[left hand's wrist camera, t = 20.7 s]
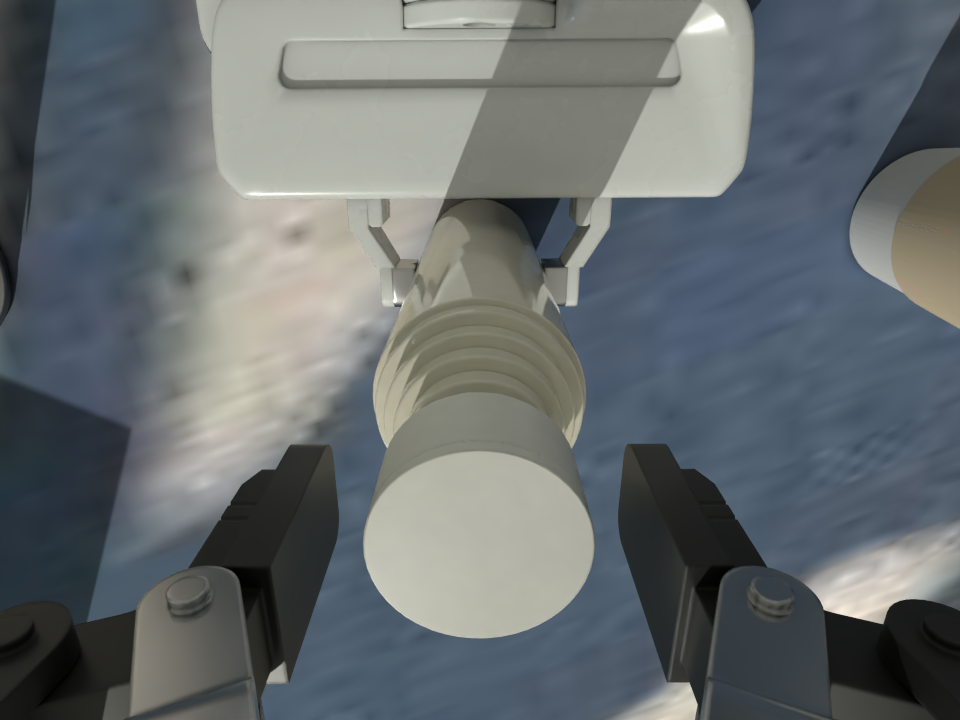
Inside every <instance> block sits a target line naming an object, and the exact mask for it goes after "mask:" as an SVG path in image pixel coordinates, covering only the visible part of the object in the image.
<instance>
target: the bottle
mask: <svg viewBox="0 0 960 720" xmlns="http://www.w3.org/2000/svg"><path fill="white" fill-rule="evenodd" d="M467 392H486V393H498V394H503V395H505V396H509V397H513V398H515V399H518V400H521V401H523V402H526V403H529V404H530V405H532V406H534V407H535V408H537V409H538V410H540V411H541V412H542V413H544V414H545V415H547V416H548V417H549V418H550V419H551V420H552V421H553V422H554V423H555V424H556V425H557V426H558V428H559V429H560V430H561V431H562V432H563V434H564V436H565V437H566V439H567V441H568V442H569V444H570V447H571V449H572V447H573V445H574V443H575V441H576V439H577V437H578V434H579V431H580V428H581V424H582V419H583V415H584V410H585V405H586V385H585V377H584V373H583V369H582V366H581V363H580V361H579V358H578V356H577V353H576V351H575V348H574V346H573V343H572V341H571V338H570V336H569V333H568V331H567V328H566V326H565V323H564V321H563V318H562V316H561V313H560V311H559V308H558V306H557V303H556V301H555V298H554V296H553V293H552V291H551V288H550V286H549V283H548V281H547V278H546V276H545V273H544V271H543V268H542V266H541V263H540V261H539V258H538V256H537V253H536V251H535V248H534V246H533V243H532V241H531V238H530V236H529V233H528V231H527V228H526V226H525V225H524V223H523V221H522V220H521V219H520V217H519V216H518V215H517V214H516V213H515V212H514V211H512V210H511V209H510V208H508V207H507V206H505V205H503V204H501V203H498V202H496V201H492V200H486V199H474V200H468V201H465V202H461V203H459V204H457V205H455V206H453V207H452V208H450V209H449V210H448V211H446V212H445V213H444V214H443V215H442V216H441V217H440V218H439V220H438V221H437V223H436V224H435V226H434V228H433V230H432V233H431V235H430V237H429V240H428V242H427V245H426V247H425V250H424V252H423V255H422V257H421V260H420V262H419V264H418V267H417V269H416V272H415V274H414V277H413V279H412V282H411V284H410V287H409V289H408V291H407V294H406V296H405V299H404V301H403V304H402V306H401V309H400V311H399V314H398V316H397V318H396V321H395V323H394V326H393V328H392V331H391V333H390V336H389V338H388V341H387V343H386V345H385V348H384V350H383V353H382V355H381V358H380V360H379V363H378V366H377V369H376V373H375V378H374V383H373V403H374V410H375V414H376V420H377V424H378V428H379V431H380V434H381V437H382V439H383V442H384V443H385V445H386V447H387V448H388V446H389V443H390V441H391V440H392V438H393V436H394V435H395V433H396V432H397V431H398V429H399V428H400V427H401V426H402V424H403V423H404V422H405V421H406V420H408V419H409V418H410V417H411V416H412V415H413V414H415V413H416V412H417V411H419V410H420V409H422V408H423V407H425V406H427V405H429V404H430V403H432V402H435V401H437V400H440V399H443V398H446V397H449V396H453V395H457V394H461V393H467Z"/></svg>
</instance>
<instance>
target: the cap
mask: <svg viewBox="0 0 960 720" xmlns="http://www.w3.org/2000/svg"><path fill="white" fill-rule="evenodd" d="M363 548H364V557H365V561H366V565H367V569H368V571H369V573H370V576H371V578H372V580H373V582H374V584H375V585H376V587H377V589H378V590H379V592H380V593H381V594H382V595H383V597H384V598H385V599H386V600H387V601H388V602H389V603H390V604H391V605H392V606H393V607H394V608H395V609H396V610H397V611H399V612H400V613H401V614H403V615H404V616H405V617H407V618H409V619H410V620H412V621H414V622H416V623H417V624H419V625H421V626H424V627H426V628H428V629H431V630H434V631H437V632H440V633H443V634H448V635H453V636H457V637H467V638H492V637H501V636H506V635H511V634H515V633H518V632H521V631H525V630H528V629H530V628H532V627H535V626H537V625H539V624H541V623H543V622H545V621H546V620H548V619H550V618H551V617H553V616H554V615H556V614H557V613H558V612H560V611H561V610H562V609H563V608H564V607H565V606H566V605H568V604H569V603H570V602H571V601H572V599H573V598H574V597H575V596H576V595H577V593H578V592H579V591H580V589H581V587H582V586H583V584H584V582H585V581H586V579H587V576H588V574H589V572H590V569H591V566H592V562H593V558H594V550H595V537H594V529H593V525H592V520H591V517H590V513H589V510H588V506H587V502H586V498H585V495H584V491H583V487H582V484H581V480H580V476H579V473H578V469H577V465H576V462H575V458H574V454H573V452H572V449H571V447H570V444H569V442H568V441H567V439H566V437H565V436H564V434H563V432H562V431H561V430H560V429H559V428H558V426H557V425H556V424H555V423H554V422H553V421H552V420H551V419H550V418H549V417H548V416H547V415H545V414H544V413H542V412H541V411H540V410H538V409H537V408H535V407H534V406H532V405H530V404H529V403H526V402H523V401H521V400H518V399H515V398H513V397H509V396H505V395H503V394H498V393H486V392H467V393H461V394H457V395H453V396H449V397H446V398H443V399H440V400H437V401H435V402H432V403H430V404H429V405H427V406H425V407H423V408H422V409H420V410H419V411H417V412H416V413H415V414H413V415H412V416H411V417H410V418H409V419H408V420H406V421H405V422H404V423H403V424H402V426H401V427H400V428H399V429H398V431H397V432H396V433H395V435H394V436H393V438H392V440H391V441H390V443H389V446H388V448H387V450H386V453H385V456H384V460H383V463H382V467H381V470H380V474H379V478H378V481H377V485H376V488H375V492H374V495H373V499H372V503H371V506H370V510H369V513H368V517H367V521H366V525H365V529H364V538H363Z"/></svg>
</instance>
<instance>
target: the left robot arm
mask: <svg viewBox="0 0 960 720" xmlns="http://www.w3.org/2000/svg"><path fill="white" fill-rule="evenodd" d="M10 298H11V283H10V276H9V272H8V268H7V265H6V262H5V259H4V256H3V254H2V252H1V250H0V325H1V324H2V322H3V321H4V319H5V317H6V315H7V312H8V309H9V304H10ZM618 525H619V534H620V539H621V543H622V546H623V549H624V552H625V555H626V559H627V562H628V565H629V568H630V571H631V574H632V577H633V580H634V583H635V586H636V589H637V592H638V595H639V598H640V601H641V604H642V607H643V610H644V613H645V616H646V619H647V622H648V625H649V628H650V632H651V635H652V638H653V641H654V644H655V647H656V650H657V653H658V656H659V659H660V662H661V665H662V668H663V671H664V674H665V677H666V680H667V682H690V685H691V687H692V690H693V693H694V696H695V698H696V701H697V704H698V706H697V712H696V717H695V720H960V611H959V610H956V609H954V608H952V607H949V606H946V605H943V604H940V603H936V602H932V601H926V600H917V599H910V600H903V601H899V602H897V603H894V604H893V605H892V606H891V607H890V608H889V610H888V611H887V614H886V617H885V621H884V624H879V623H875V622H870V621H866V620H862V619H857V618H853V617H849V616H844V615H840V614H836V613H832V612H828V611H825V610H823V606H822V604H821V602H820V600H819V599H818V597H817V596H816V595H815V594H814V593H813V592H812V590H811V589H809V588H808V587H807V586H806V585H805V584H803V583H802V582H800V581H799V580H797V579H796V578H794V577H792V576H790V575H788V574H786V573H783V572H781V571H778V570H775V569H772V568H767V566H766V564H765V563H764V561H763V560H762V558H761V557H760V555H759V553H758V552H757V550H756V549H755V547H754V545H753V544H752V542H751V541H750V539H749V538H748V536H747V534H746V533H745V531H744V530H743V528H742V526H741V525H740V523H739V522H738V520H735V515H734V514H733V512H732V511H731V509H730V507H729V506H728V505H726V501H725V500H724V498H723V496H722V495H721V493H720V492H719V490H718V488H717V487H716V485H715V484H714V483H713V482H711V481H710V480H709V479H707V478H706V477H705V476H703V475H702V474H701V473H699V472H698V471H697V470H695V469H680V467H679V465H678V463H677V462H676V460H675V458H674V456H673V454H672V453H671V451H670V449H669V447H668V446H667V445H666V444H627V446H626V448H625V452H624V460H623V470H622V479H621V489H620V499H619V510H618ZM338 526H339V510H338V500H337V490H336V480H335V471H334V461H333V453H332V449H331V447H330V445H290V446H289V448H288V449H287V451H286V453H285V454H284V456H283V458H282V460H281V461H280V463H279V465H278V467H277V468H276V470H261V471H260V472H258V473H257V474H256V475H254V476H253V477H252V478H250V479H249V480H248V481H246V482H245V483H243V484H242V485H241V487H240V488H239V490H238V491H237V493H236V495H235V496H234V498H233V499H232V501H231V505H230V506H228V507H227V509H226V510H225V512H224V513H223V515H222V516H221V521H218V523H217V524H216V526H215V527H214V529H213V531H212V532H211V534H210V535H209V537H208V538H207V540H206V541H205V543H204V545H203V546H202V548H201V549H200V551H199V552H198V554H197V556H196V557H195V559H194V560H193V562H192V563H191V565H190V566H189V568H188V569H185V570H182V571H179V572H177V573H174V574H172V575H170V576H168V577H166V578H164V579H163V580H161V581H160V582H158V583H157V584H155V585H154V586H153V587H152V588H151V589H149V590H148V592H147V593H146V594H145V595H144V596H143V597H142V599H141V600H140V602H139V604H138V606H137V609H136V610H134V611H131V612H128V613H124V614H121V615H117V616H112V617H108V618H104V619H99V620H95V621H91V622H86V623H82V624H78V625H74V623H73V620H72V617H71V614H70V612H69V610H68V609H67V608H66V607H65V606H64V605H61V604H59V603H56V602H49V601H40V602H31V603H26V604H22V605H18V606H15V607H12V608H9V609H6V610H4V611H1V612H0V720H265V717H264V712H263V706H262V701H261V696H262V693H263V690H264V688H265V685H266V684H289V681H290V678H291V675H292V672H293V669H294V666H295V663H296V660H297V658H298V655H299V652H300V649H301V646H302V643H303V640H304V637H305V634H306V631H307V628H308V625H309V622H310V619H311V616H312V613H313V610H314V607H315V604H316V601H317V598H318V595H319V592H320V589H321V586H322V583H323V580H324V577H325V574H326V571H327V568H328V565H329V562H330V559H331V556H332V553H333V550H334V547H335V544H336V540H337V535H338Z"/></svg>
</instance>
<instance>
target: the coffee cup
mask: <svg viewBox="0 0 960 720" xmlns="http://www.w3.org/2000/svg"><path fill="white" fill-rule="evenodd" d="M850 244H851V248H852V252H853V254H854V256H855V258H856V260H857V262H858V263H859V264H860V266H861V267H862V268H863V269H864V270H865V271H867V272H868V273H869V274H871V275H873V276H874V277H876V278H878V279H880V280H881V281H883V282H885V283H887V284H889V285H890V286H892V287H894V288H896V289H897V290H899V291H901V292H903V293H904V294H905V295H906V296H907V297H908V298H909V299H910V300H912V301H913V302H914V303H916V304H917V305H919V306H921V307H923V308H924V309H926V310H928V311H930V312H931V313H933V314H935V315H937V316H938V317H940V318H942V319H944V320H945V321H947V322H949V323H951V324H952V325H954V326H956V327H958V328H959V329H960V148H934V149H925V150H920V151H917V152H914V153H911V154H908V155H906V156H904V157H902V158H900V159H898V160H896V161H894V162H893V163H891V164H890V165H889V166H887V167H886V168H885V169H883V170H882V171H881V172H880V173H879V174H878V175H877V176H876V177H875V178H874V179H873V180H872V181H871V182H870V183H869V185H868V186H867V187H866V189H865V190H864V191H863V193H862V195H861V196H860V198H859V200H858V202H857V204H856V206H855V209H854V212H853V215H852V219H851V224H850Z"/></svg>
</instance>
